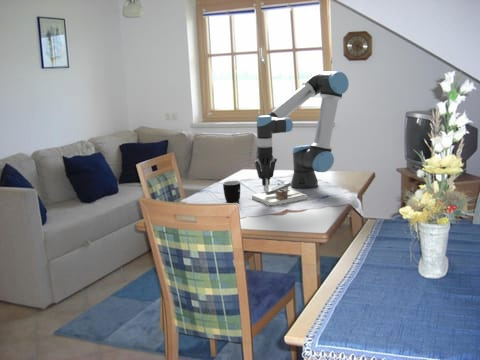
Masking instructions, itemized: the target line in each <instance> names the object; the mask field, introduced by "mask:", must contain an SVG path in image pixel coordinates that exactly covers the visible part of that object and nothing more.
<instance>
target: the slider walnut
mask: <svg viewBox="0 0 480 360" xmlns="http://www.w3.org/2000/svg"><path fill="white" fill-rule="evenodd" d="M277 198H278V199H280V200H281V199H286V198H288V194H287V191H286V190H284V189H280V190H277Z"/></svg>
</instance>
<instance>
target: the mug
mask: <svg viewBox="0 0 480 360" xmlns="http://www.w3.org/2000/svg"><path fill="white" fill-rule="evenodd" d="M222 185H223V187H222V188H223V189H222V190H223V195H224V199H225V201H226V203H228V204H234V203H233V202H237V203H239V202H240V198H241V181H238V180H228V181H225V182H223V183H222Z"/></svg>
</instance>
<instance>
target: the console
mask: <svg viewBox="0 0 480 360" xmlns="http://www.w3.org/2000/svg"><path fill="white" fill-rule="evenodd" d="M286 191H287V194H288V198H286V199H281V200H280V199H278V198H277V192H275V193H273V194H271V195H268V194H266V193H265V191H261V192H260V193H254V194H252V195H251V199H252V200H254V201H256V202H259V201H260V203H262V202H263V203H262V204H264V203H265V204H264V205H266V204H268V205H267V206H269V205H275V206H277V205H276V204H279V205H282V203H284V204H288V203H287V202H289V203H293V201H294V202H297V201H298V200H299V201H303V200H307V199H308V194H305V193H302V192H299V191H296V190H294V189H290V188H288V190H286ZM299 201H298V202H299Z"/></svg>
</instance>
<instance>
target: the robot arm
mask: <svg viewBox="0 0 480 360" xmlns="http://www.w3.org/2000/svg"><path fill="white" fill-rule="evenodd" d="M348 88H349V79H348V77H347V75H346V74H345V72H342V71H337V70H329V71H327V70H321V71H318V72H316V73H314V74H313V75H311V76H310V77H309V78H307V79H306V80H305V81H304V82H303V83H302V85H301V87H299V88H298V89H297V90H296V91H294V92H293V93H292V94H291V95H289V97H287V98H286V99H285V100H284V101H283V102H281V103H280V104H279V105H277V106H276V107H275V108H274V109H272V110H271V111H270V112H269V113H267V114H266V115H258V116H257V118H256V132H257V133H256V135H257V137H256V138H257V159H256V160H253V164H254V165H255V169H256V174H257V176H258V179H261V184H262V186H263V192H269V189H270V187H269V186H270V184H271V183H270V182H271V179H272V178H273V177H274V172H275V167H276V163H277V161H278V159H277V158H275V157H274V156H273V135H274V134H282V133H284V134H285V133H289V132H291V131H292V130H293V127H294V124H293V120H292V119H291V117H288V116H289V115H291V114H292V113H293V112H294V111H296V110H297V109H298V108H299V107H301V106H302V105H303V104H304V103H305V102H306V101H308V100H309V99H310V98H315V96H317V95H320V97H321V104H320V108H319V113H318V118H317V125H316V130H315V135H314V140H313V143H311V144H304V145H297V146H294V147H293V148H292V162H293V163H292V164H293V174H292V178H291V180H290V183H291V186H290V187H291V188H293V189H301V190H302V189H314V188H317V187H318V185H319V184H318V183H319V181H318V178H317V176H316V173H315V172H317V173H326V172H328V171H329V170H330V169H332V167H333V165H334V162H335V158H334V157H335V156H334V155H333V153H332V150H333V148H332V147H331V140H332V135H333V130H334V126H335V125H334V124H335V118H336V114H337V108H338V105H339V101H340V100H341V99H342V97H343V94H345V93H346V92H347V91H348Z"/></svg>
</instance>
